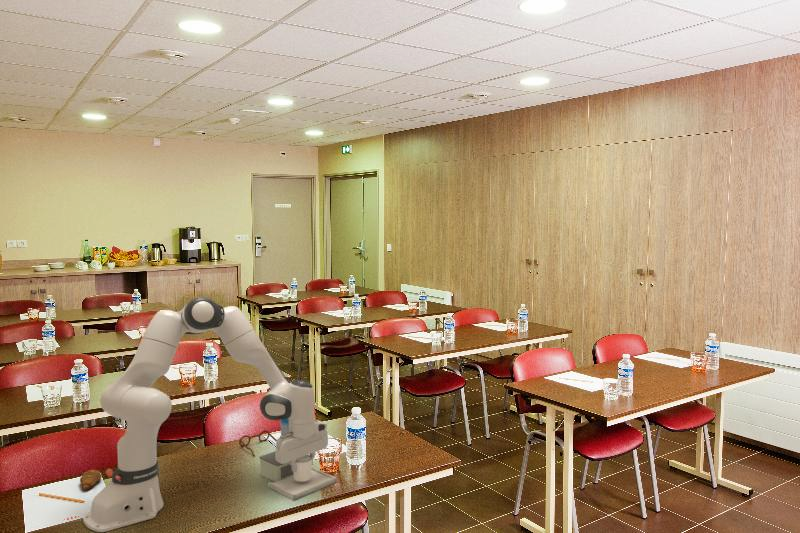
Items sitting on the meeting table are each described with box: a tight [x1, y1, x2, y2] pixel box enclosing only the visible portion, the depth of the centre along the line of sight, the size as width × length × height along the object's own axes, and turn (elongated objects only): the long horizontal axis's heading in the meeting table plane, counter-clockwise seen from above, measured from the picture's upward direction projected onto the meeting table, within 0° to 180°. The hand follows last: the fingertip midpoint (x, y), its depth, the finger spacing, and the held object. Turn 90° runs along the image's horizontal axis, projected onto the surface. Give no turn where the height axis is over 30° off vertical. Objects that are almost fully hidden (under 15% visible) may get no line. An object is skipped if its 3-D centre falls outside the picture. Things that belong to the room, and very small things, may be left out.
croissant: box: [79, 469, 102, 492], centre depth 203 cm, size 14×7×5 cm, turn 14°
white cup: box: [293, 454, 313, 482], centre depth 202 cm, size 7×7×7 cm
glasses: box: [238, 430, 278, 458], centre depth 235 cm, size 13×13×5 cm
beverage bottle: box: [279, 418, 289, 436], centre depth 233 cm, size 8×8×20 cm
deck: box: [258, 450, 337, 501], centre depth 206 cm, size 18×25×7 cm
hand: (302, 468), depth 202 cm, fingers closed on white cup, 5 cm apart
